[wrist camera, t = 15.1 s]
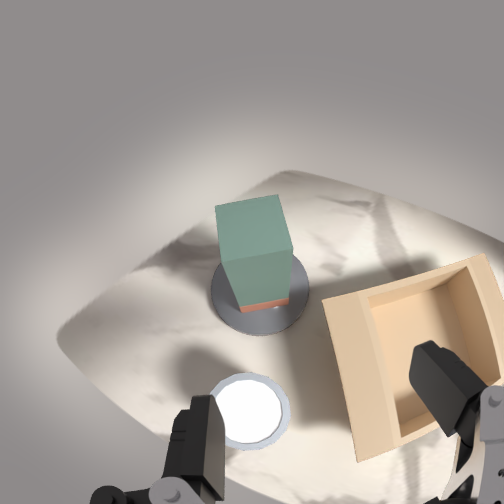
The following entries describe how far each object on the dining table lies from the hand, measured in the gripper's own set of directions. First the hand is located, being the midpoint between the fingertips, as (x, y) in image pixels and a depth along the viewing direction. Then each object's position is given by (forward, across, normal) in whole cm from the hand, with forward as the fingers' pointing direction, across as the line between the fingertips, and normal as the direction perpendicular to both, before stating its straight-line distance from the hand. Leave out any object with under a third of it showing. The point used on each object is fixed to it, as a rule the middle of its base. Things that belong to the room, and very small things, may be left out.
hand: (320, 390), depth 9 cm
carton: (+13, -15, +14) cm, 24 cm away
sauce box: (+21, +1, +4) cm, 21 cm away
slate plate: (+22, +2, +5) cm, 22 cm away
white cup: (+13, +4, +14) cm, 19 cm away
